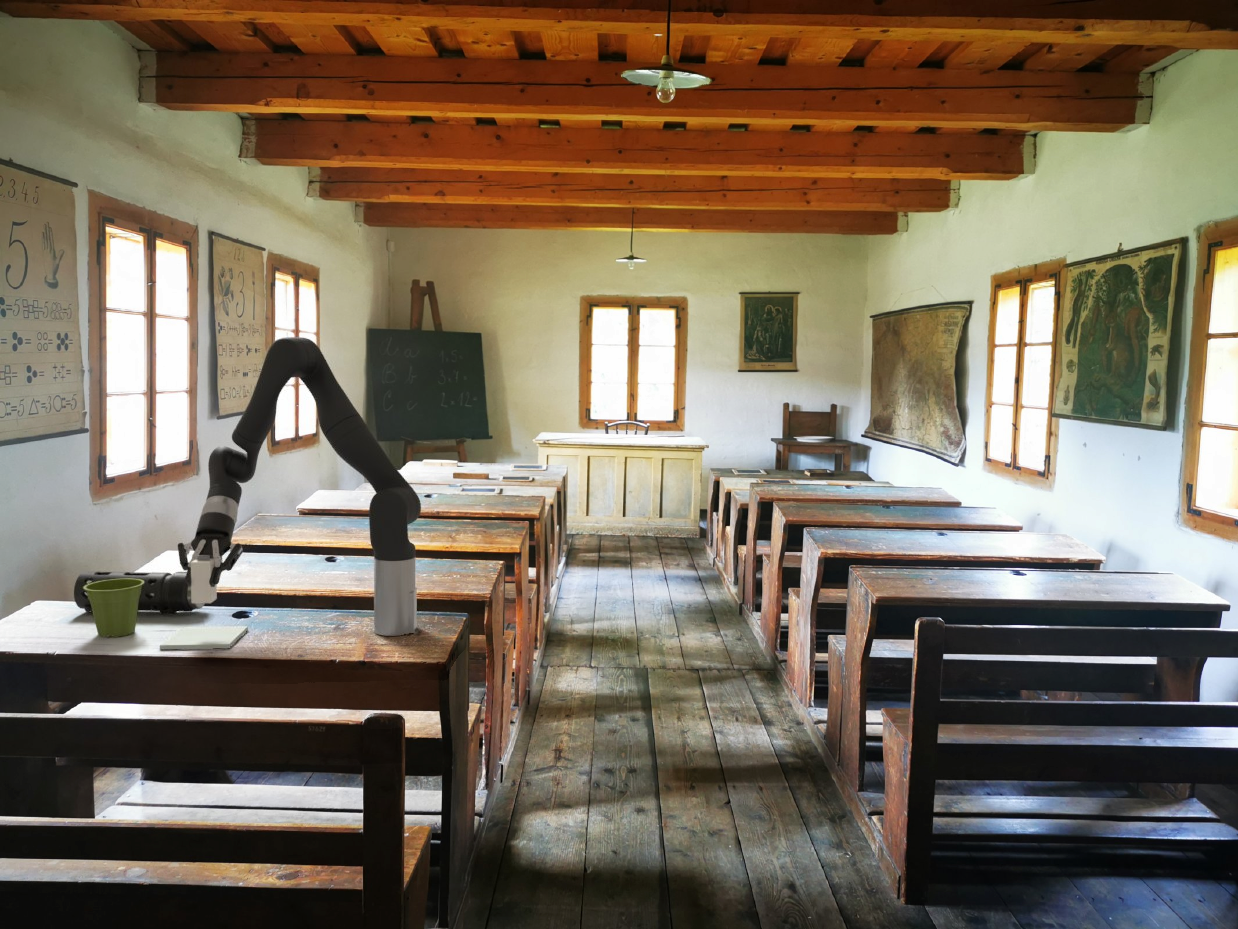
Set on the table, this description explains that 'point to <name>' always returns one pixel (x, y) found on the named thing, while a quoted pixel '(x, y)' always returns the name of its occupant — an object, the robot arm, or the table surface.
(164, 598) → the muzzle brake
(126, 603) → the plant pot
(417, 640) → the table surface
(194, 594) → the plug block
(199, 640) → the board
